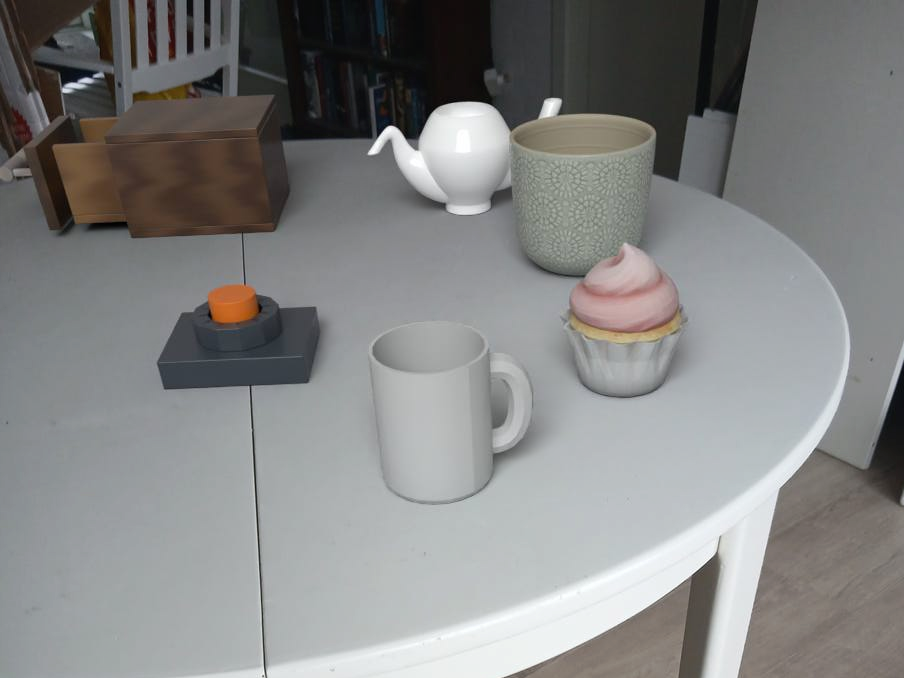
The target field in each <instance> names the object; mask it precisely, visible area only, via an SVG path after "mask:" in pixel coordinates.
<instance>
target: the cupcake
mask: <svg viewBox="0 0 904 678" xmlns="http://www.w3.org/2000/svg"><path fill="white" fill-rule="evenodd" d="M679 294H680V293H679V289H678V288H677V286H676V285H675V282H674V281H673V279H672V278H671V277H670V276H669V274H668V273H667V272H666V271H664V269H662V268H660V267H659V266H658V265H657V263H656V261H655V260H654V259H653V258H652V257H651V255H649V254H648V253H647V252H645V251H644V250H642V249H641V248H639V247H638V246H637V247H634V246H632V245H630V244H628V243H623V245H622V247H621V249H620V250H619V253H618V256H614V257H609V258H606V259H604V260H602V261H600V262H599V263H598V264H596V265H595V266H594V267H593V268H592V269H591V270H590V271H589V272H588V273H587V274H586V275H584V278H583V279H581V280H580V281H579V282H578V283H576V284H575V285H574V287H573V288H572V290H571V291H570V294H569V298H568V304H569V307H570V308H569V309H567V310H564V311H561V312H560V313H559V314H558V315H559V317H560V319H561V321H562V323H563V330H564V332H565V334H566V336H567V338H568V340H569V341H570V344H571V346H572V351H573V357H574V361H575V366H576V370H577V375H578V377H579V378H578V379H580V381H581V384H583V385H584V387H586V388H587V389H588V390H591V391H592V392H595V393H597V394H601V395H604V396H608V397H618V398H621V397H623V398H624V397H625V398H630V397H636V396H641V395H642V396H643V395H646V394H648V393H651V392H653V391H655V390H656V389H658V388H660V386H661V385H662V384H663V382H665V379H666V376H667V375H668V374H667V373H668V371H669V368H670V366H671V362H672V359H673V357H674V354H675V351H676V349H677V347H678V344H679V341H680V340H681V338H682V336H683V335H684V333H685V331H686V329H687V328H688V325H689V324H690V322H691V320H692V319H691V316H689V315H688V314H686V313H684V312H685V310H686V306H685V304H683V303H680V296H679Z"/></svg>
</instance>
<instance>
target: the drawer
mask: <svg viewBox="0 0 904 678" xmlns="http://www.w3.org/2000/svg"><path fill="white" fill-rule="evenodd" d="M120 118H121V116H106V117H89V118H87V117H84V118H80V119H79V120H78V122H79V125H80V129H81V133H82V136H83V140H84V142H78V138H77V134H76V132H75V128H74V125H73V122H72V118H71V115H69V114H68V115H58V116H57V117H56V118H54V120H53V121H51V122H50V123H49V124H48V125H47V126H46V127H44V128H43V130H41V131H40V132H39V133H38V134H37V135H35V136H34V137H33V138H32V139H31V140H30V141H28V143H27V144H25V145H24V146H23V147H22V148H21V149H20V150H18V151H17V152H16V153H15V154H14V155H13V156H12V157H10V158H9V159H8V160H7V161H6V162H5V163H4V164H2V166H0V179H1V180H2V181H3V182H7V183H10V182H12V180H14V179H15V178H16V177H31V178H32V181H33V184H34V187H35V189H36V192H37V196H38V199H39V202H40V204H41V208H42V211H43V214H44V217H45V220H46V224H47V227H48V229H49V231H61V230H63V228H65V226H66V225H67V224H68V222H69V221H70V220H71V219H72V218H73V221H74V224H76V225H78V224H79V225H80V224H97V223H99V224H101V223H102V224H103V223H123V222H124V223H125V222H127V221H126V217H125V213H124V209H123V206H122V202H121V198H120V195H119V191H118V187H117V184H116V180H115V176H114V173H113V169H112V165H111V161H110V158H109V154H108V150H107V147H106V143H105V139H104V134H105V133H106V132H107V131H108V130H109V129H110V128H111V127H112V126H113V125H114V124H115V123H116V122H117V121H118V120H119V119H120ZM27 166H28V167H27Z"/></svg>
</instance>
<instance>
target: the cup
mask: <svg viewBox="0 0 904 678" xmlns="http://www.w3.org/2000/svg"><path fill="white" fill-rule="evenodd" d="M489 342H490V341H489V339H488V337H487V335H485V334H484V332H482V331H481V330H479V329H478V328H476V327H473V326H471V325H468V324H465V323H460V322H455V321H449V320H425V321H423V320H422V321H416V322H409V323H404V324H401V325H397V326H395V327H392V328H389V329H387V330H385V331H383V332H381V333H379V334H378V335H377V336H376V337H375V338H373V339H372V340H371V342H370V343H369V345H368V347H367V356H368V357H367V358H368V366H369V375H370V382H371V383H370V384H371V390H372V400H373V406H374V407H373V408H374V415H375V416H374V417H375V424H376V432H377V440H378V449H379V456H380V466H381V471H382V477H383V480H384V481H385V483H386V485H387V487H389V489H390V490H391V491H392V492H394V493H395V494H396V495H397V496H398V497H400V498H403V499H404V500H406V501H410V502H413V503H418V504H426V505H443V504H449V503H450V504H451V503H454V502H459V501H463V500H465V499H467V498H470V497H472V496H474V495H475V494H477V493H479V492H480V491H481V490H482V489H483V488H484V487H485V485H486V484H488V482H489V481H490V479H491V478H492V474H493V471H494V454H498V453H503V452H505V451H507V450H509V449H511V448H514V447H515V446H516V445H517V444H519V442H520V441H521V440H522V439H523V438H524V436H525V434H526V432H527V430H528V428H529V426H530V423H531V419H532V415H533V410H534V388H533V383H532V379H531V376H530V374H529V371H527V368H526V366H525V365H524V364H523V363H522V362H521V361H520V360H519V359H517V358H516V357H514V356H513V355H512V354H511V355H510V354H506V353H502V352H490V343H489ZM496 379H501V380H502V382H503V384H504V386H505V388H506V391H507V397H508V409H507V415H506V417H505V420H504V421H503V422H502V424H500V425H498V426H496V427H493V419H492V417H493V415H492V393H491V392H492V391H491V390H492V389H491V388H492V387H491V380H496Z"/></svg>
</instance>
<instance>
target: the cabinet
mask: <svg viewBox="0 0 904 678" xmlns="http://www.w3.org/2000/svg"><path fill="white" fill-rule="evenodd" d="M276 100H277V99H276V95H275V94H257V95H255V94H254V95H237V96H233V95H232V96H214V97H213V96H212V97H193V98H173V99H171V98H170V99H152V100H151V99H150V100H135V102H134V103H133V104H132V105H131V106H130V107H129V108H128V109H127V110H126V111H125V112H124V113H123V114H122V115H121V116H120V117H121V118H120V119H119V120H118V121H117V122H116V123H115V124H114V125H113V126H112V127H111V128H110V129H109V130H108V131H107V132H106V133H105V134H104V139H105V143H106V147H107V150H108V154H109V158H110V161H111V165H112V169H113V173H114V176H115V180H116V184H117V187H118V191H119V195H120V198H121V202H122V206H123V209H124V213H125V217H126V221H125V222H126V225H127V227H128V232H129V235H130V238H131V239H136V238H138V239H139V238H158V237H159V238H161V237H180V236H181V237H182V236H203V235H221V234H223V235H224V234H245V233H246V234H247V233H248V234H249V233H267V232H275V231H276V228H277V226H278V224H279V223H278V222H279V221H280V218H281V216H282V213H283V210H284V208H285V206H286V203H287V200H288V198H289V195H290V192H291V187H290V181H289V175H288V168H287V161H286V156H285V149H284V144H283V143H284V142H283V137H282V131H281V125H280V119H279V118H280V117H279V112H278V106H277V101H276Z"/></svg>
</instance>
